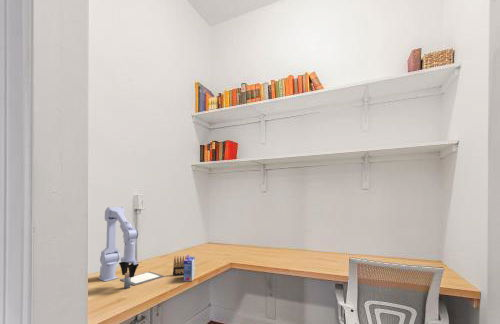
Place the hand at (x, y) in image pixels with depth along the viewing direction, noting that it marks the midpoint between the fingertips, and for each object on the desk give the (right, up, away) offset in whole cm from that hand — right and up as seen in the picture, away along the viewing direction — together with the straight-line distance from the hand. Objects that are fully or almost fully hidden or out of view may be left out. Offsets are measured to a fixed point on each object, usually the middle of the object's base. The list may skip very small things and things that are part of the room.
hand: (127, 276), depth 140 cm
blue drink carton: (+31, -9, +15) cm, 35 cm away
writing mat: (+2, -8, +15) cm, 17 cm away
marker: (0, -6, -1) cm, 6 cm away
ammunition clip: (+24, -10, +22) cm, 34 cm away
